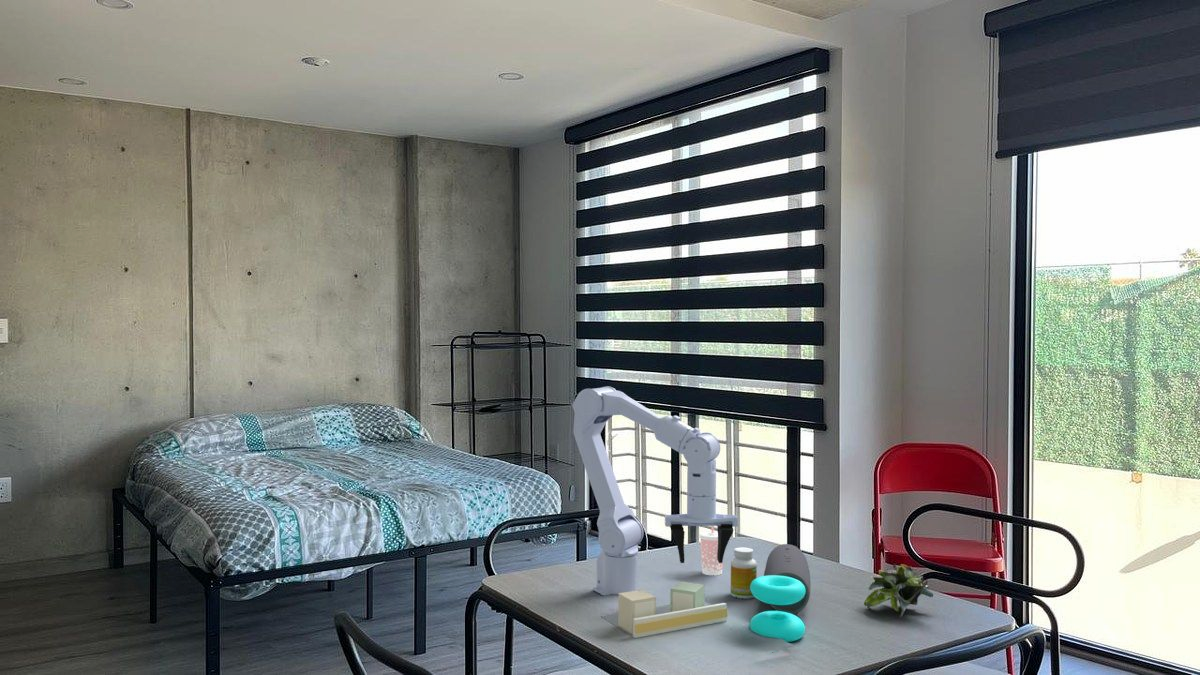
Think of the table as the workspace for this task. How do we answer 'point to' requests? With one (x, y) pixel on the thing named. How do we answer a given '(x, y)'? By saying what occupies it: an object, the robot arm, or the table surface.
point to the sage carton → (686, 596)
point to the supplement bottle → (742, 572)
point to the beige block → (634, 607)
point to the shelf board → (673, 619)
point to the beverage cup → (710, 553)
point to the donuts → (778, 593)
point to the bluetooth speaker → (789, 572)
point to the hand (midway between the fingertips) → (700, 561)
